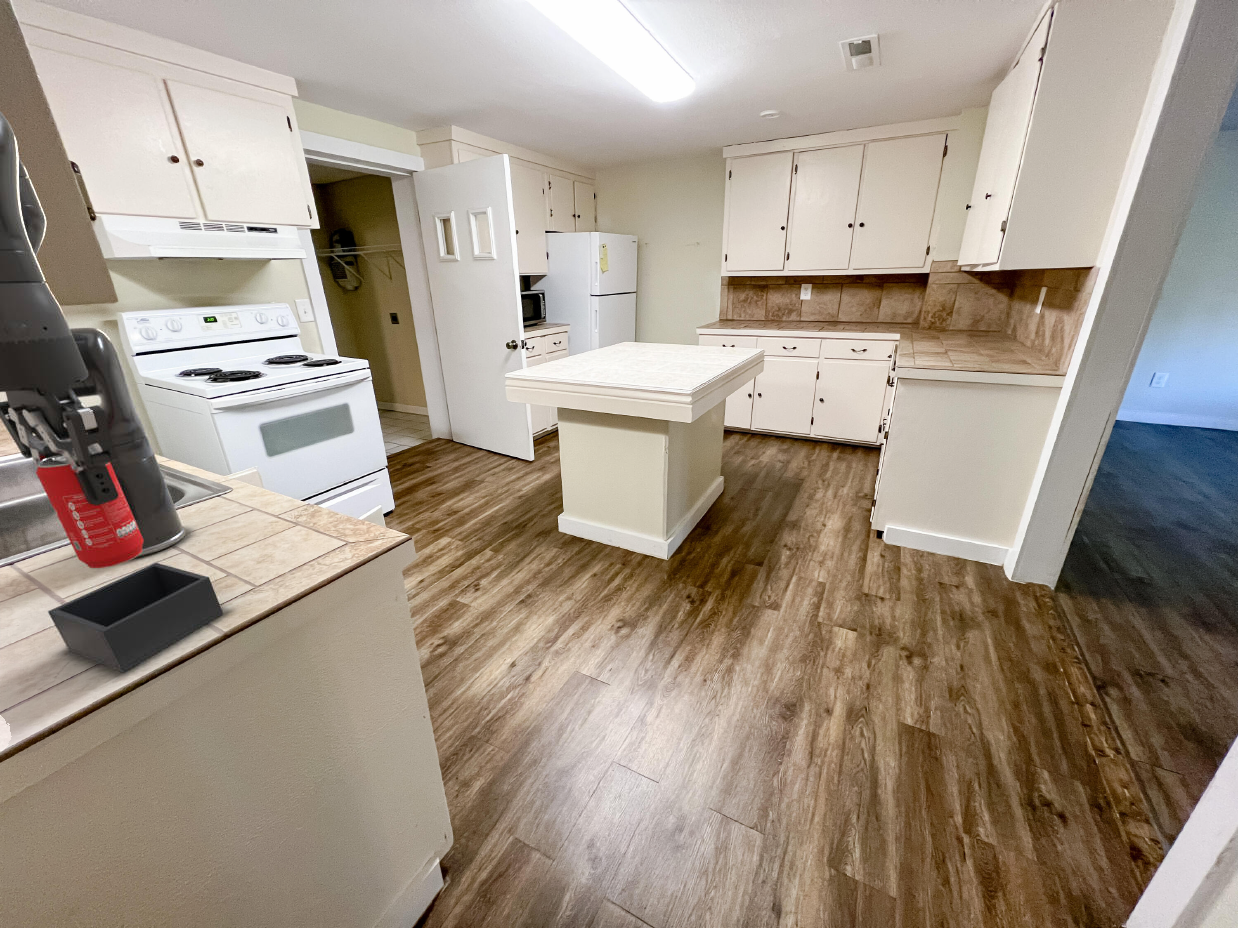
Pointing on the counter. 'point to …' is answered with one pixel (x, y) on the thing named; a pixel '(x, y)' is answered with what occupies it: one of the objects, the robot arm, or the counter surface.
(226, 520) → the counter surface
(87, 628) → the bin
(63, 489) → the beverage can
